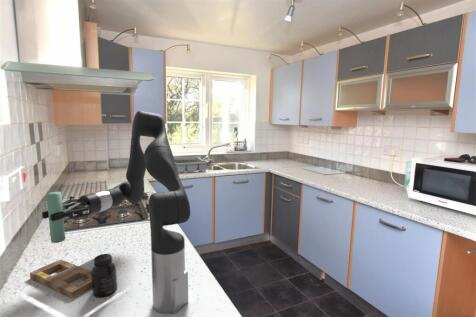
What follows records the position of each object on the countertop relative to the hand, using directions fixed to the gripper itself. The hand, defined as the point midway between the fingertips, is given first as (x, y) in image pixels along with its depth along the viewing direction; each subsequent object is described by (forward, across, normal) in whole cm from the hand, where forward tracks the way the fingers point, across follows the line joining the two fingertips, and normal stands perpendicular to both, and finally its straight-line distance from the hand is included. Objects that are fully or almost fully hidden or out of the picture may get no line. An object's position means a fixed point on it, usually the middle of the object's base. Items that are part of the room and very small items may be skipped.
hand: (47, 216), depth 90 cm
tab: (-11, +5, +22) cm, 25 cm away
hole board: (-1, +5, +22) cm, 23 cm away
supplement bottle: (-4, +21, +22) cm, 31 cm away
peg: (-3, 0, +9) cm, 9 cm away
